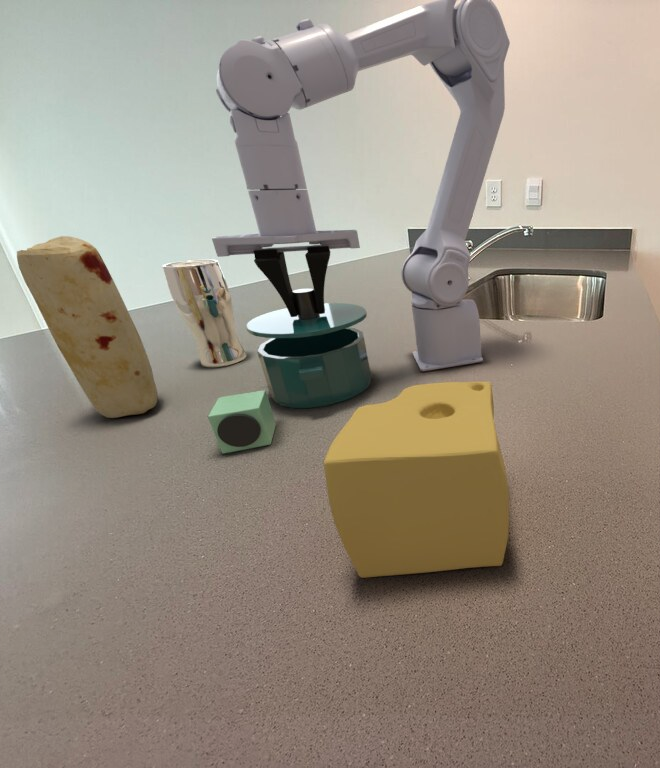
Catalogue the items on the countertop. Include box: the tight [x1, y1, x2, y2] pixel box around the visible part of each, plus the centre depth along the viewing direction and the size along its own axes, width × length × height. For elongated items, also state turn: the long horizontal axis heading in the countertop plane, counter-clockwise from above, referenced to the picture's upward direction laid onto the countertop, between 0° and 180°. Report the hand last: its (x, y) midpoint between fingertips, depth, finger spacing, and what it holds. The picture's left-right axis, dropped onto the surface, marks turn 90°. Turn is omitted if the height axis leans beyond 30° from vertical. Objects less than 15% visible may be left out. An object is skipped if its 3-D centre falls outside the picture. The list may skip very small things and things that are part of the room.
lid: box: [245, 288, 368, 339], centre depth 49 cm, size 13×13×4 cm
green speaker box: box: [207, 389, 277, 455], centre depth 42 cm, size 5×4×4 cm
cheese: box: [323, 381, 510, 579], centre depth 30 cm, size 10×11×10 cm
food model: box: [16, 235, 159, 419], centre depth 46 cm, size 10×7×20 cm
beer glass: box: [162, 259, 247, 368], centre depth 61 cm, size 7×7×15 cm
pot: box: [256, 327, 372, 409], centre depth 54 cm, size 12×18×6 cm
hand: (308, 313), depth 50 cm, fingers closed on lid, 2 cm apart
